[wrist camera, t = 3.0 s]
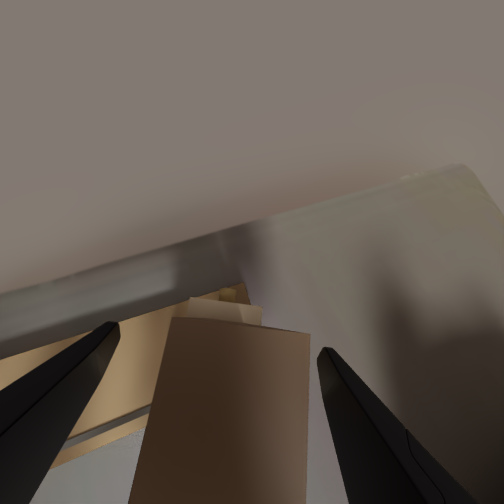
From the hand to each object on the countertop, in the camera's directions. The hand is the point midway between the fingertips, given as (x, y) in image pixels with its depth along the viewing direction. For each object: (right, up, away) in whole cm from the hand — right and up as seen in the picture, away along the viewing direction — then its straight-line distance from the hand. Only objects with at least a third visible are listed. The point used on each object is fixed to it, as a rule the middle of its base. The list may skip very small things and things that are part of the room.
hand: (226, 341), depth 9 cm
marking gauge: (-1, -3, +7) cm, 7 cm away
